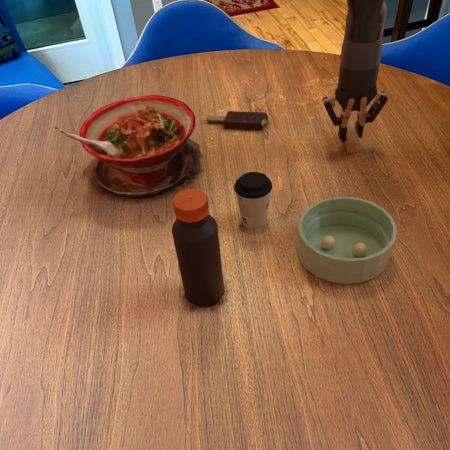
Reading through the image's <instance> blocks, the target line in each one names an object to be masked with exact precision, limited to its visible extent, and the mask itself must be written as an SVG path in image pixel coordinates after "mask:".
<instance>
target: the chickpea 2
mask: <svg viewBox="0 0 450 450" xmlns="http://www.w3.org/2000/svg"><path fill="white" fill-rule="evenodd" d="M366 252H367V247H366V245H365V244H363V243H357V244H355V245H354V247H353V253H354V254H355V255H356V256H358V257H361V256H364V255H365V254H366Z"/></svg>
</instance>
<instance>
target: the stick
mask: <svg viewBox="0 0 450 450" xmlns="http://www.w3.org/2000/svg"><path fill="white" fill-rule="evenodd" d="M361 143H362V141H361V138H359V136H358V134H357V132H356V129H355V124H354V123H353V120H352V119H348V123H347V134H346V140H345V142H344V145H345V147H346V150H347V153H349V154H350V153H358V152H360V150H361Z"/></svg>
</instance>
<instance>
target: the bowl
mask: <svg viewBox="0 0 450 450" xmlns="http://www.w3.org/2000/svg"><path fill="white" fill-rule="evenodd" d="M397 230H398V228H397V225H396V222H395V220H394V217H393V216H391V214H390V213H389V212H387V210H386V209H384V208H383V207H382V206H379V205H378V204H376V203H374V202H372V201H369V200H366V199H364V198H361V197H353V196H333V197H328V198H324V199H321V200H318V201H316V202H314V203H313V204H311V205H310V206H308V207H307V208H306V209H305V210H304V211H303V213H302V214H301V215H300V216H299V220H298V224H297V233H296V235H297V236H296V252H297V258H298V261H299V262H300V263H301V264H302V266H303V268H305V269H306V270H307V271H308V272H309V273H311V274H312V275H313V276H315V277H317V278H319V279H322V280H324V281H327V282H329V283H335V284H341V285H342V284H343V285H349V284H350V285H351V284H361V283H364V282H367V281H369V280H372V279H375V278H377V277H378V276H379V275H380V274H382V273H383V272H384V271H385V270H386V268H387V267H388V265H389V263H390V261H391V259H392V254H393V251H394V247H395V244H396V239H397ZM325 236H331V237H333V238H334V240H335V244H334V246H333V247H332V248H331V249H325V248H323V247H322V245H321V240H322V239H323V237H325ZM357 243H363V244H365V245H366V247H367V252H366V254H365V255H364V256H361V257H358V256H356V255H355V254H354V253H353V247H354V245H355V244H357Z"/></svg>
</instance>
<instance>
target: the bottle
mask: <svg viewBox="0 0 450 450" xmlns="http://www.w3.org/2000/svg"><path fill="white" fill-rule="evenodd" d="M172 206H173V212H174V215H175V218H176V219H175V220H174V222H173V223H172V226H171V234H172V235H171V236H172V239H173V245H174V249H175V254H176V259H177V263H178V269H179V273H180V278H181V283H182V288H183V292H184V296H185V299H186V300H187V302H188V303H189V304H191V305H192V306H194V307H198V308H209V307H212V306H214V305H216V304H218V303H219V302H220V300H221V299H222V298H223V297H224V294H225V282H224V275H223V264H222V255H221V246H220V245H221V244H220V237H219V236H220V235H219V227H218V222H217V221H216V219H215V218H214V217H213V216H212V215H211V214H210V206H209V198H208V195H207V193H205V191H203V190H200V189H198V188H188V189H183V190H181V191H179V192H177V193H176V194H175V196H173V198H172Z"/></svg>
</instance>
